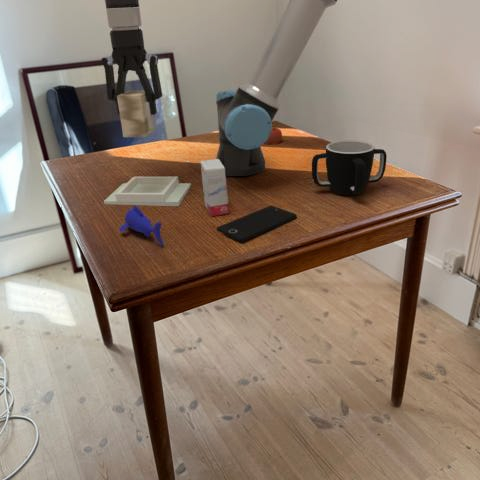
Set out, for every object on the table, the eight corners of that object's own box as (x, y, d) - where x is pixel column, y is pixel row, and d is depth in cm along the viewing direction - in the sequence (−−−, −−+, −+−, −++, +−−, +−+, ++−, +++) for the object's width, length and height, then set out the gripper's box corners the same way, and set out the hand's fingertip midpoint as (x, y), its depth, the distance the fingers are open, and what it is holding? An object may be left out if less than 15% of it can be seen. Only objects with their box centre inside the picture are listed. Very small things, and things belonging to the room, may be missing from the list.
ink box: (229, 214, 116) (226, 167, 111) (209, 217, 115) (205, 170, 110) (222, 202, 124) (219, 157, 119) (203, 204, 123) (199, 160, 118)
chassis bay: (191, 188, 134) (190, 176, 133) (178, 207, 122) (177, 194, 120) (123, 188, 137) (122, 176, 136) (104, 206, 125) (102, 194, 123)
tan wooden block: (156, 129, 125) (151, 90, 121) (146, 137, 118) (140, 95, 114) (134, 129, 126) (128, 90, 122) (123, 137, 119) (116, 96, 115)
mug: (340, 176, 137) (342, 135, 132) (390, 188, 127) (395, 143, 121) (304, 192, 127) (305, 148, 122) (356, 206, 117) (359, 159, 111)
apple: (261, 144, 172) (261, 122, 169) (282, 144, 171) (282, 122, 168) (260, 150, 166) (259, 127, 162) (281, 150, 165) (281, 127, 161)
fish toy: (115, 232, 110) (109, 205, 107) (143, 222, 115) (139, 195, 112) (149, 253, 100) (144, 223, 97) (179, 241, 104) (175, 212, 101)
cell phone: (215, 231, 109) (215, 227, 108) (271, 208, 119) (270, 205, 119) (241, 243, 103) (241, 239, 102) (297, 218, 113) (297, 214, 113)
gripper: (169, 26, 113) (179, 124, 123) (94, 29, 116) (110, 124, 126) (159, 27, 107) (171, 131, 117) (80, 31, 110) (98, 131, 120)
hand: (139, 127), depth 122 cm, fingers closed on tan wooden block, 6 cm apart
